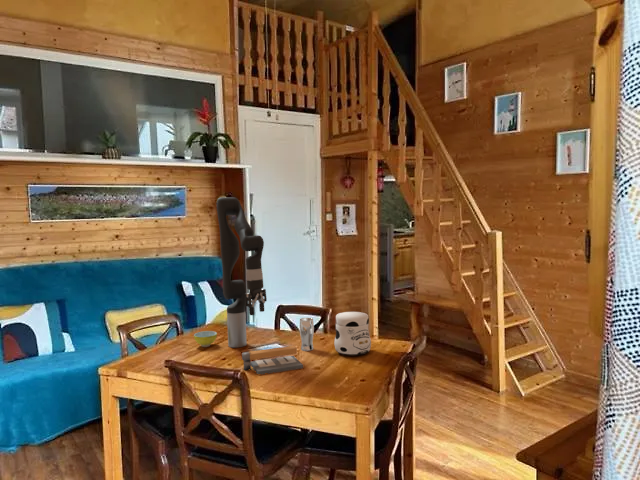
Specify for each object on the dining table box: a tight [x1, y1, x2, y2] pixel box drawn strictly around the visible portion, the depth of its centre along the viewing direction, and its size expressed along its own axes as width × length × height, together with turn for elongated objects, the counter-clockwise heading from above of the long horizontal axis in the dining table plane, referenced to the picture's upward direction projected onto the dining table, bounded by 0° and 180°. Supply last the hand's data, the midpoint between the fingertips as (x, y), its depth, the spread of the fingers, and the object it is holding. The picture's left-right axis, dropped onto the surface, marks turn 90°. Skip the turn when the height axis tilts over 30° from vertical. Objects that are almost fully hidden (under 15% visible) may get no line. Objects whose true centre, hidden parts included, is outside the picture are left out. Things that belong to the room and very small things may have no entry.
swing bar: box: [241, 345, 298, 361], centre depth 212 cm, size 24×4×2 cm, turn 111°
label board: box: [250, 355, 304, 375], centre depth 211 cm, size 14×20×2 cm
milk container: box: [333, 311, 372, 357], centre depth 228 cm, size 17×17×18 cm
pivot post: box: [243, 360, 252, 371], centre depth 209 cm, size 3×3×4 cm
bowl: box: [193, 330, 218, 348], centre depth 246 cm, size 11×12×6 cm
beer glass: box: [299, 317, 315, 352], centre depth 235 cm, size 7×7×15 cm
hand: (257, 313), depth 225 cm, fingers open, 8 cm apart
